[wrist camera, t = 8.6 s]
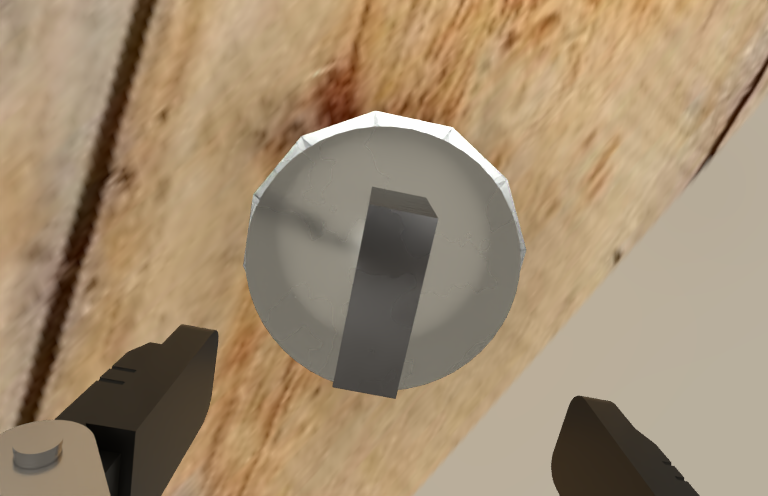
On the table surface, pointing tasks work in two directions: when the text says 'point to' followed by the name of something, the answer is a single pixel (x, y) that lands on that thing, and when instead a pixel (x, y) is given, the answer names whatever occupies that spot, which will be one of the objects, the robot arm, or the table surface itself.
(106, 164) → the table surface
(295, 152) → the pot
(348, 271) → the lid
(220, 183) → the table surface
